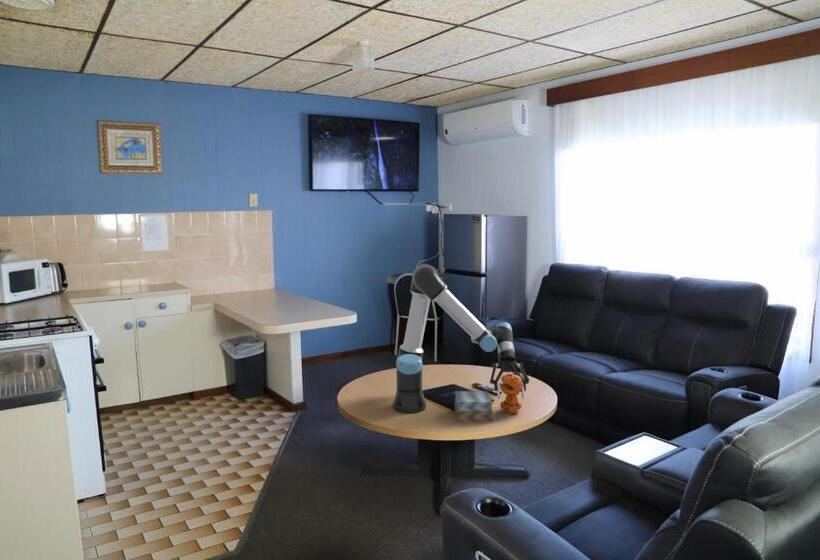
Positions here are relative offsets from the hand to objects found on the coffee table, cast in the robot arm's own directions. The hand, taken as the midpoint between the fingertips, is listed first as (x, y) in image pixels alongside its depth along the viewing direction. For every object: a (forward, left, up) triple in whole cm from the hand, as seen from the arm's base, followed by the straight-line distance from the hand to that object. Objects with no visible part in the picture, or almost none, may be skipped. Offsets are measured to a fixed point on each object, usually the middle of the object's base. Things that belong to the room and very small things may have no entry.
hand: (511, 397), depth 260 cm
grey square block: (-17, -2, -8) cm, 19 cm away
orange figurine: (0, +3, -8) cm, 8 cm away
